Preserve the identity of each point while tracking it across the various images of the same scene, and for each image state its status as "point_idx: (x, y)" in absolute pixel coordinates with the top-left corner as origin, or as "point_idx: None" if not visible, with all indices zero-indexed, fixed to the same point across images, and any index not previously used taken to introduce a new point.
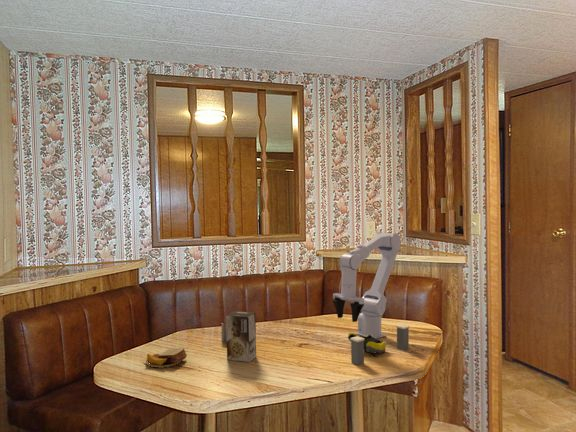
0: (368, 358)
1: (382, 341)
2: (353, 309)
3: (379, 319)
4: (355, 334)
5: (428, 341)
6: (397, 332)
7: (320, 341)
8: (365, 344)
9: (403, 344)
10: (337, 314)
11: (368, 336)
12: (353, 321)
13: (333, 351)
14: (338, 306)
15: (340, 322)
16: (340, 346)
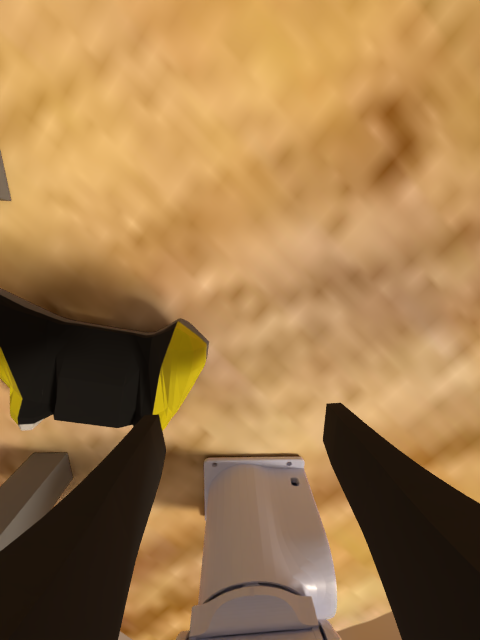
0: (18, 272)
1: (32, 417)
2: (22, 554)
3: (199, 593)
4: (166, 370)
5: None
6: (3, 526)
7: (355, 267)
8: (99, 351)
9: (11, 475)
10: (356, 420)
11: None
12: (143, 416)
13: (197, 207)
14: (411, 524)
15: None
16: (232, 292)
